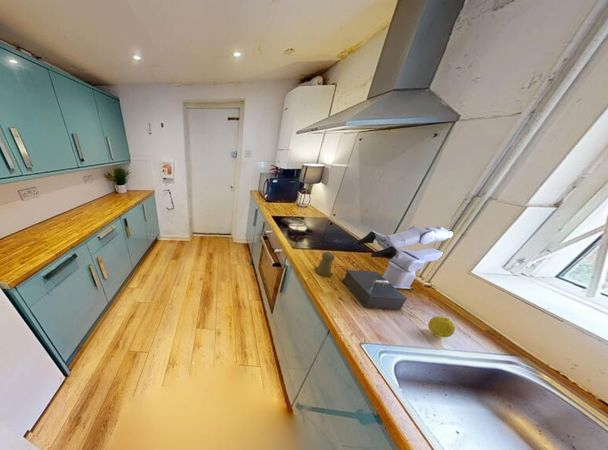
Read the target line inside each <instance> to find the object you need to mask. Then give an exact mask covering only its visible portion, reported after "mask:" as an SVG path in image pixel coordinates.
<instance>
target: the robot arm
mask: <svg viewBox="0 0 608 450" xmlns="http://www.w3.org/2000/svg"><path fill="white" fill-rule="evenodd" d="M448 230H449V229H446V228H444V227H443V226H440V225H438V226H437V225H436V227H430V226H426V227H422V226H418V225H416V226H415V225H411V226H409V228H407V229H404V230H402V231H400V232H396V233H393V234H387V235H384V234H382V233H379V232H377V231H375V230H370V231H369V232H368V234H366V235H365V236H363V237H361V238H360V239H358V240H357V245H358V246H361V245H365V244H374V241H376V242H377V243H378V245H379V246H380V248H381V250H377V251H373V252H371V255H370V257H371V258H383V259H387V260H388V261H387V263H388V265H387V267H386V269H385V271H384V273H383V275H381V276H382V277H383V278H384V279H385V280H387V281H389V283H390V284H391V285H392V286H393V287H395V288H396V289H402V290H403V289H404V290H411V289H412V287H411V285H412V283H413V282H414V280H415V278H416V277H417V276H416V275H417V272H416V271H418V270H423V268H424V266H425V263H430V262H436V261H439V260H438V259H439V258H440V257H441V256H442V254H443V252H441V251H439V250H436V249H434V247H429V248H425V249H419V250H411V249H410V250H409V249H405V248H404V249H400V248H402V247H406V246H410V245H414V244H418V243H419V244H421V245H428V244H430V243H433V242H444V241H447V239H448V238H451V237H452V236H453V232H452V231H448Z"/></svg>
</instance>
